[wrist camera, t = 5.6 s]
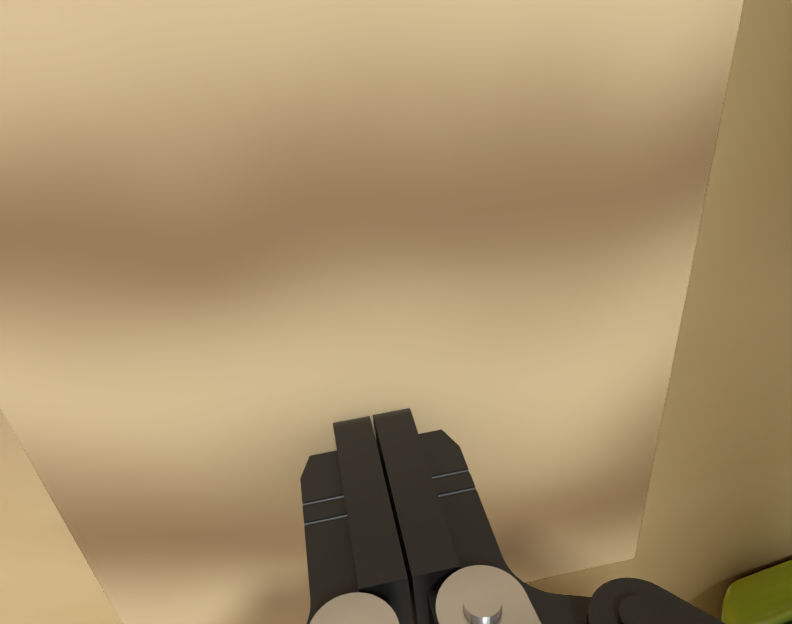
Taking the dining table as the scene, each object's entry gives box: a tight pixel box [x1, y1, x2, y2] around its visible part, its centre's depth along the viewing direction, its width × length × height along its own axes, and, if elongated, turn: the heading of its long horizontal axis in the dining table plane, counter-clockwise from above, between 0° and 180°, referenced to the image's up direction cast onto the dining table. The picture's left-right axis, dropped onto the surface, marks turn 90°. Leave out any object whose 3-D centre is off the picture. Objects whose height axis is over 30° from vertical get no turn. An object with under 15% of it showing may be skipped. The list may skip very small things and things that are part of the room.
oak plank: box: [0, 0, 744, 624], centre depth 10 cm, size 22×12×2 cm, turn 5°
